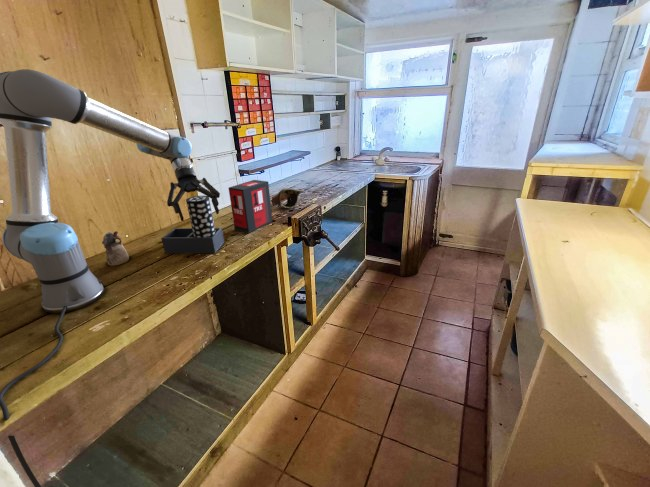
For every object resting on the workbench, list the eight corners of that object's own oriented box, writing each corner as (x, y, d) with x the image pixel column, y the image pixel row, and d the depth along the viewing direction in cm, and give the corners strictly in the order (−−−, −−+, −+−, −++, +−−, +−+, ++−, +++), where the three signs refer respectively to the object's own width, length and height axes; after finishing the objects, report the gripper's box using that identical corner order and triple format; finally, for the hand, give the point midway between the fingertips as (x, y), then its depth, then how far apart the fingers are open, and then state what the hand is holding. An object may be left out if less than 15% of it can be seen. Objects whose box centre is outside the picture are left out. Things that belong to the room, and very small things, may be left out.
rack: (215, 253, 123) (212, 237, 121) (165, 253, 125) (161, 238, 122) (224, 242, 133) (221, 227, 130) (177, 242, 134) (174, 228, 132)
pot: (282, 184, 186) (298, 179, 172) (292, 200, 190) (308, 197, 176) (260, 199, 178) (275, 195, 163) (271, 216, 182) (286, 214, 167)
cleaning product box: (249, 232, 142) (243, 189, 134) (234, 229, 146) (228, 187, 138) (272, 221, 155) (268, 181, 147) (258, 218, 159) (254, 179, 151)
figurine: (110, 258, 121) (100, 230, 116) (130, 255, 124) (122, 227, 119) (105, 267, 115) (95, 237, 110) (127, 263, 117) (118, 234, 113)
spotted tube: (210, 250, 124) (201, 202, 115) (192, 249, 125) (181, 201, 117) (221, 242, 131) (213, 195, 123) (203, 241, 133) (194, 195, 124)
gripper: (214, 173, 138) (230, 214, 133) (151, 181, 125) (166, 227, 120) (215, 162, 132) (232, 205, 126) (150, 170, 119) (166, 217, 114)
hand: (200, 215), depth 123 cm, fingers open, 13 cm apart
